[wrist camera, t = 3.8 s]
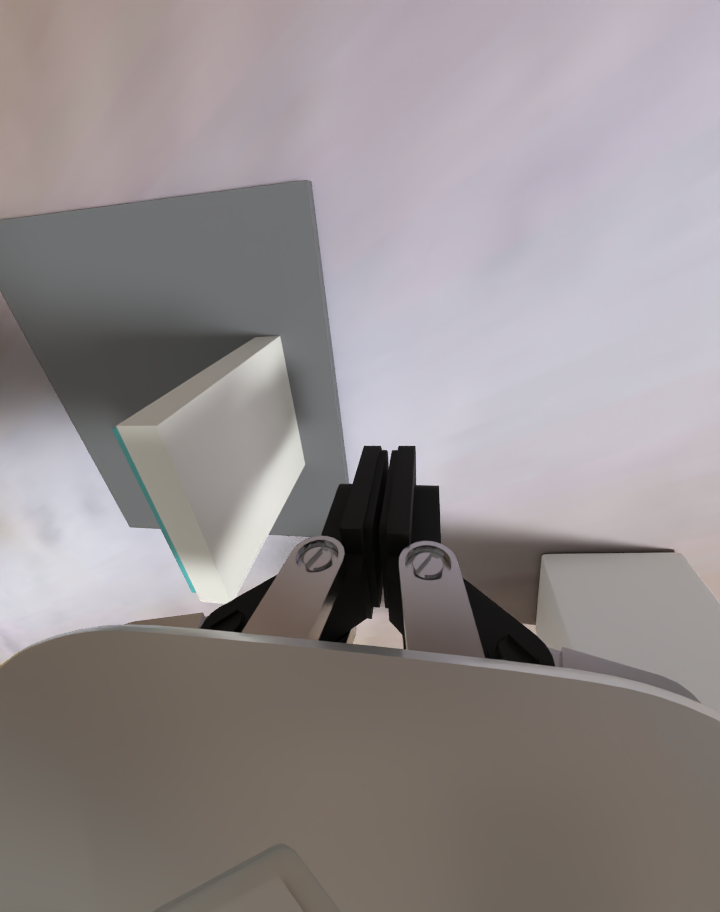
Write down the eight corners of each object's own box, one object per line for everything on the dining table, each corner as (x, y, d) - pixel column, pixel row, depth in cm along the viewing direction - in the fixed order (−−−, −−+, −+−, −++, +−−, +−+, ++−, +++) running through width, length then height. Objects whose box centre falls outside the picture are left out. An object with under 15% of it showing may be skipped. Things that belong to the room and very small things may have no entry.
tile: (247, 337, 17) (102, 425, 9) (279, 335, 17) (157, 425, 9) (277, 463, 21) (190, 600, 13) (305, 464, 20) (231, 604, 13)
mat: (-23, 224, 17) (-36, 224, 16) (311, 181, 14) (306, 180, 13) (135, 521, 26) (129, 527, 26) (355, 532, 23) (353, 539, 23)
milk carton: (653, 629, 24) (1110, 1456, 8) (534, 625, 25) (709, 1302, 9) (680, 549, 20) (1627, 1774, 4) (540, 551, 22) (837, 1432, 6)
